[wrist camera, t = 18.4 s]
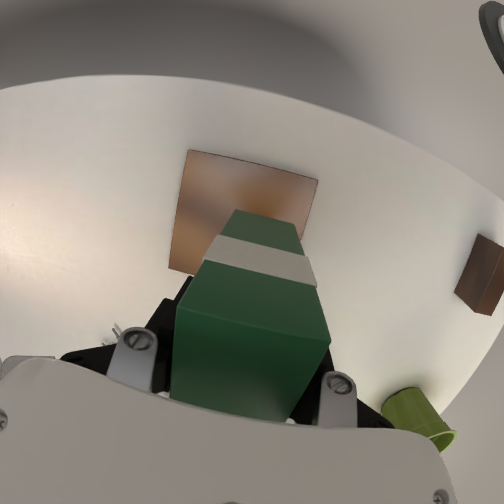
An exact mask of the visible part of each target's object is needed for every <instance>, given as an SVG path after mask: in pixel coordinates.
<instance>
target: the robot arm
mask: <svg viewBox="0 0 504 504" xmlns="http://www.w3.org/2000/svg"><path fill="white" fill-rule="evenodd" d="M498 28H499V32H500V35H501V38H502V41H503V43H504V15H502V16H500V17H499V19H498ZM193 278H194V277H192V276H188V278H187V279H186V281H185V283H184V284H183V286H182V287H181V289H180V291H179V292H178V294H177V295H176V297H175V299H174V300H171V299H167V298H164V299H163V301H162V302H161V304H160V305H159V307H158V308H157V309H156V311H155V312H154V314H153V315H152V317H151V319H150V320H149V322H148V323H147V325H146V326H145V328H143V327H132V328H129V329H126V330H125V331H123V332H122V333H121V335H120V337H119V340H118V342H117V343H116V344H111V345H106V346H101V347H96V348H90V349H85V350H79V351H73V352H69V353H66V354H65V355H63V356H62V357H61V358H60V359H59V360H56V359H55V356H10V357H8V358H7V359H6V360H5V361H4V362H3V364H2V368H1V374H0V504H457V500H456V497H455V493H454V489H453V486H452V483H451V480H450V477H449V474H448V471H447V468H446V466H445V464H444V461H443V459H442V457H441V455H440V453H439V451H438V449H437V448H436V446H435V445H434V443H433V442H432V441H431V440H430V439H428V438H427V437H425V436H423V435H420V434H418V433H414V432H411V431H406V430H400V429H395V427H394V426H393V424H392V423H391V422H390V421H389V420H387V419H386V418H384V417H383V416H381V415H380V414H379V413H377V412H376V411H374V410H373V409H371V408H370V407H369V406H367V405H366V404H364V403H363V402H362V401H360V400H359V399H358V398H357V392H356V385H355V383H354V381H353V380H352V379H351V378H350V377H349V376H348V375H346V374H344V373H341V372H338V371H335V370H334V366H333V362H332V358H331V354H330V350H329V347H328V349H327V351H326V353H325V355H324V357H323V359H322V361H321V362H320V364H319V366H318V368H317V370H316V372H315V374H314V375H313V377H312V379H311V381H310V382H309V384H308V386H307V388H306V389H305V391H304V393H303V395H302V396H301V398H300V400H299V401H298V403H297V405H296V406H295V408H294V410H293V411H292V413H291V414H290V416H289V419H292V420H293V421H295V422H294V424H291V423H283V422H275V421H268V420H261V419H255V418H249V417H244V416H238V415H233V414H228V413H224V412H219V411H215V410H211V409H206V408H202V407H198V406H194V405H191V404H187V403H183V402H180V401H176V400H173V399H170V398H166V397H163V396H160V395H157V393H160V392H163V391H164V392H167V393H169V391H170V376H171V363H172V351H173V340H174V330H175V320H176V311H177V306H178V304H179V302H180V300H181V299H182V297H183V295H184V293H185V292H186V290H187V288H188V286H189V285H190V283H191V281H192V280H193Z"/></svg>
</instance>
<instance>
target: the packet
mask: <svg viewBox="0 0 504 504" xmlns="http://www.w3.org/2000/svg"><path fill="white" fill-rule="evenodd" d="M316 288H317V282H316V279H315V277H314V274H313V271H312V268H311V265H310V262H309V259H308V257H306V256H305V254H304V251H303V248H302V245H301V242H300V239H299V236H298V234H297V231H296V228H295V225H294V224H293V223H289V222H285V221H281V220H277V219H273V218H269V217H266V216H262V215H258V214H254V213H250V212H246V211H241V210H237V209H235V210H234V212H233V213H232V215H231V217H230V218H229V220H228V221H227V223H226V225H225V226H224V228H223V229H222V231H221V233H220V234H219V235H217V236H216V237H215V239H214V240H213V242H212V244H211V245H210V247H209V248H208V250H207V251H206V253H205V255H204V256H203V259H202V264H201V266H200V268H199V269H198V271H197V273H196V274H195V276H194V278H193V280H192V281H191V283H190V285H189V286H188V288H187V290H186V292H185V293H184V295H183V297H182V299H181V300H180V302H179V304H178V306H177V311H176V320H175V330H174V340H173V351H172V363H171V376H170V393H169V398H170V399H173V400H176V401H180V402H183V403H187V404H191V405H194V406H198V407H202V408H206V409H211V410H215V411H219V412H224V413H228V414H233V415H238V416H244V417H249V418H255V419H261V420H268V421H275V422H283V423H285V422H286V421H287V419H288V418H289V416H290V414H291V413H292V411H293V410H294V408H295V406H296V405H297V403H298V401H299V400H300V398H301V396H302V395H303V393H304V391H305V389H306V388H307V386H308V384H309V382H310V381H311V379H312V377H313V375H314V374H315V372H316V370H317V368H318V366H319V364H320V362H321V361H322V359H323V357H324V355H325V353H326V351H327V349H328V347H329V345H330V343H331V337H330V333H329V330H328V327H327V323H326V320H325V317H324V313H323V310H322V307H321V303H320V300H319V297H318V294H317V291H316Z"/></svg>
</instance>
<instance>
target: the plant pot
mask: <svg viewBox="0 0 504 504" xmlns="http://www.w3.org/2000/svg"><path fill="white" fill-rule="evenodd" d="M382 416H383V417H384V418H386V419H387V420H389V421H390V422H391V423H392V424H393V426H394V427H395V429H400V430H406V431H411V432H414V433H418V434H420V435H423V436H425V437H427V438H428V439H430V440H431V441H432V442H433V443H434V445H435V446H436V448H437V449H438V451H439V453H440V454H441V453H442V452H443V451H444V450H446V449H447V448H448V447H449V446H450V445H451V444H452V443H453V442H454V440H455V439H456V437H457V432H456V431H454V430H451V429H450V428H449V427H448V425H447V424H446V423H445V422H443V420H442V419H441V418H440V416H439V415H438V413H437V412H436V411H435V409H434V408H433V406H432V405H431V404H430V402H429V401H428V400H427V398H426V397H425V395H424V394H423V393H422V391H421V390H420V389H418V388H408V389H405V390H402V391H400V392H399V393H398V394H397V395H395V396H391V397H390V398H389V399H388V400H387V401H386V402H385V403H384V404H383V406H382Z"/></svg>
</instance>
